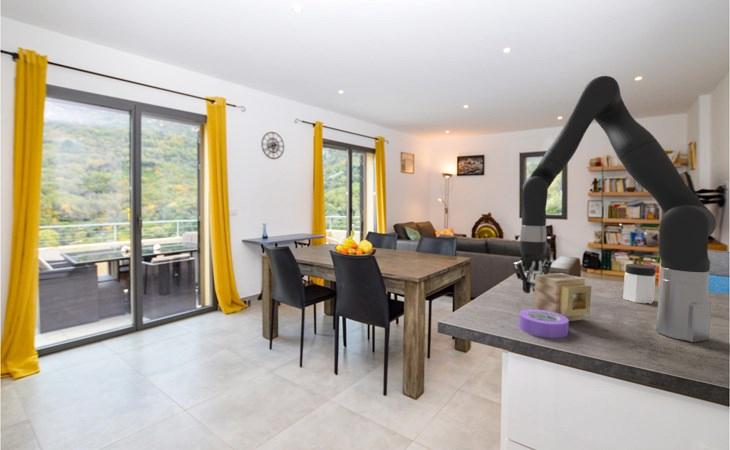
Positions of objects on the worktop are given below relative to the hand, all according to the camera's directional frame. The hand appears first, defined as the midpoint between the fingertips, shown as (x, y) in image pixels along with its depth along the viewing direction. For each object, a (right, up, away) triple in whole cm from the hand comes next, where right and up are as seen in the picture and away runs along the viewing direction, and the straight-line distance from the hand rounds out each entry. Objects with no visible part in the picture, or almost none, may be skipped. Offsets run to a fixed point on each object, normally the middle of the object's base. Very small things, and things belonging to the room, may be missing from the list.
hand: (531, 292), depth 114 cm
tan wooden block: (+3, -5, -10) cm, 12 cm away
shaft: (+2, +1, -7) cm, 7 cm away
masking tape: (-6, -7, -20) cm, 22 cm away
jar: (+41, -5, +8) cm, 41 cm away
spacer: (+5, -3, -15) cm, 16 cm away
